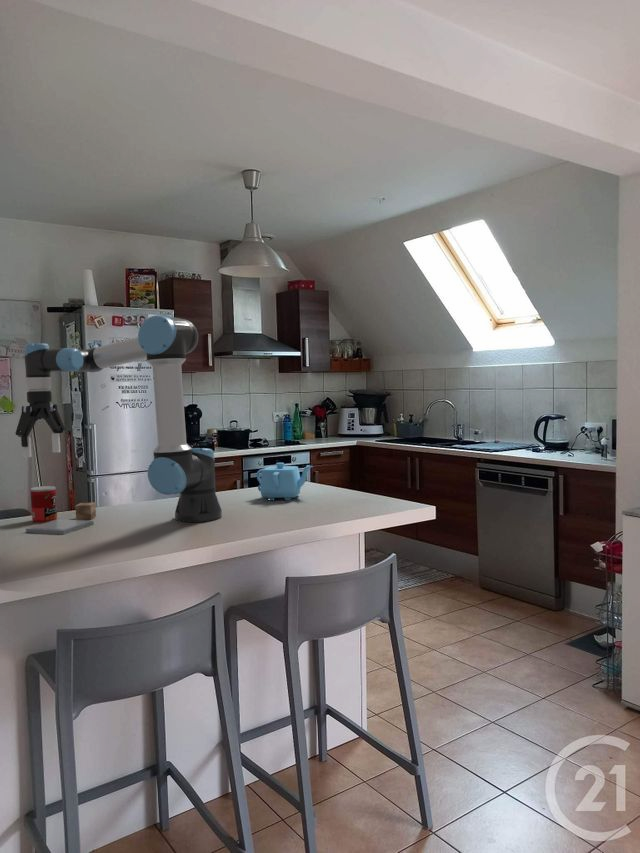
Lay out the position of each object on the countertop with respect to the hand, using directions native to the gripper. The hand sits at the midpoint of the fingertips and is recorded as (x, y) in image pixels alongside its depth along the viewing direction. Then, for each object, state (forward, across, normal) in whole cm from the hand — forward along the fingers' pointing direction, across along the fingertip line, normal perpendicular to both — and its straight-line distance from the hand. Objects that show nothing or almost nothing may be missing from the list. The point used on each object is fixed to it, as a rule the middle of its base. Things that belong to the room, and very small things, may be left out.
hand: (42, 454), depth 221 cm
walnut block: (+22, -5, +12) cm, 26 cm away
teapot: (+22, -53, +65) cm, 87 cm away
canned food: (+22, 0, 0) cm, 22 cm away
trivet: (+22, +10, +14) cm, 28 cm away
